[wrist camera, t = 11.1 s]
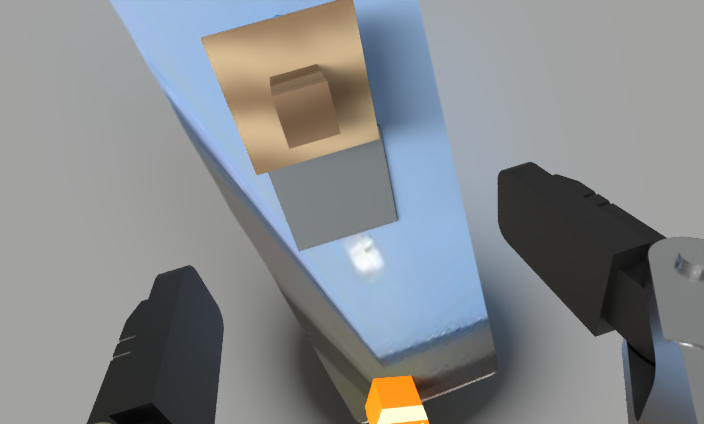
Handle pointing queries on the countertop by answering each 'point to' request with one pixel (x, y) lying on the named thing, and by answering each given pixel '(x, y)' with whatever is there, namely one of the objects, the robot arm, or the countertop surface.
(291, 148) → the oak lid
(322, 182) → the rubber mat
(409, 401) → the orange juice
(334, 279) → the countertop surface
